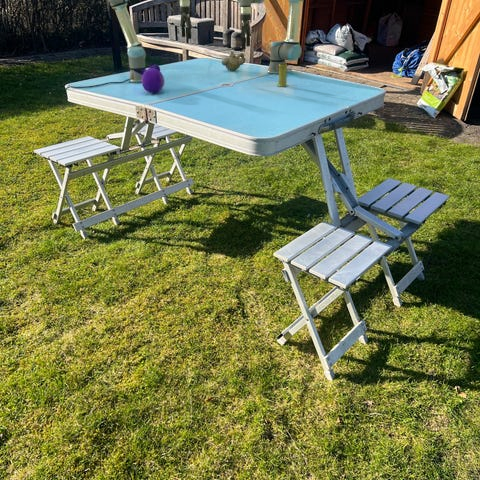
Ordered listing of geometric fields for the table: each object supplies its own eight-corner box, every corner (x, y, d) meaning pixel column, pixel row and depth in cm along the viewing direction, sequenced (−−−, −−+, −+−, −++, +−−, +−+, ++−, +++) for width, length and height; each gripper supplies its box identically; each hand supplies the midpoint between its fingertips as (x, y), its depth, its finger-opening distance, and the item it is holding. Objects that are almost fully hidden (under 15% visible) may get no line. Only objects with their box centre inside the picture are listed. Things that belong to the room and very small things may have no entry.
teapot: (225, 73, 360) (224, 53, 352) (218, 71, 369) (217, 51, 361) (248, 70, 369) (247, 50, 362) (240, 68, 378) (240, 49, 370)
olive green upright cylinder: (288, 85, 316) (289, 64, 309) (283, 87, 312) (284, 65, 305) (280, 84, 319) (281, 63, 312) (276, 86, 315) (276, 64, 308)
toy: (156, 85, 322) (164, 98, 301) (131, 81, 314) (137, 93, 294) (160, 63, 314) (168, 74, 293) (135, 58, 306) (141, 69, 286)
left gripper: (195, 7, 322) (196, 39, 333) (184, 5, 342) (185, 35, 352) (185, 7, 319) (187, 39, 330) (174, 5, 339) (176, 36, 350)
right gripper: (244, 12, 315) (245, 45, 326) (235, 15, 294) (236, 50, 305) (255, 12, 313) (255, 45, 324) (246, 15, 292) (246, 50, 303)
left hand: (186, 37), depth 341 cm, fingers open, 13 cm apart
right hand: (245, 47), depth 314 cm, fingers open, 13 cm apart
